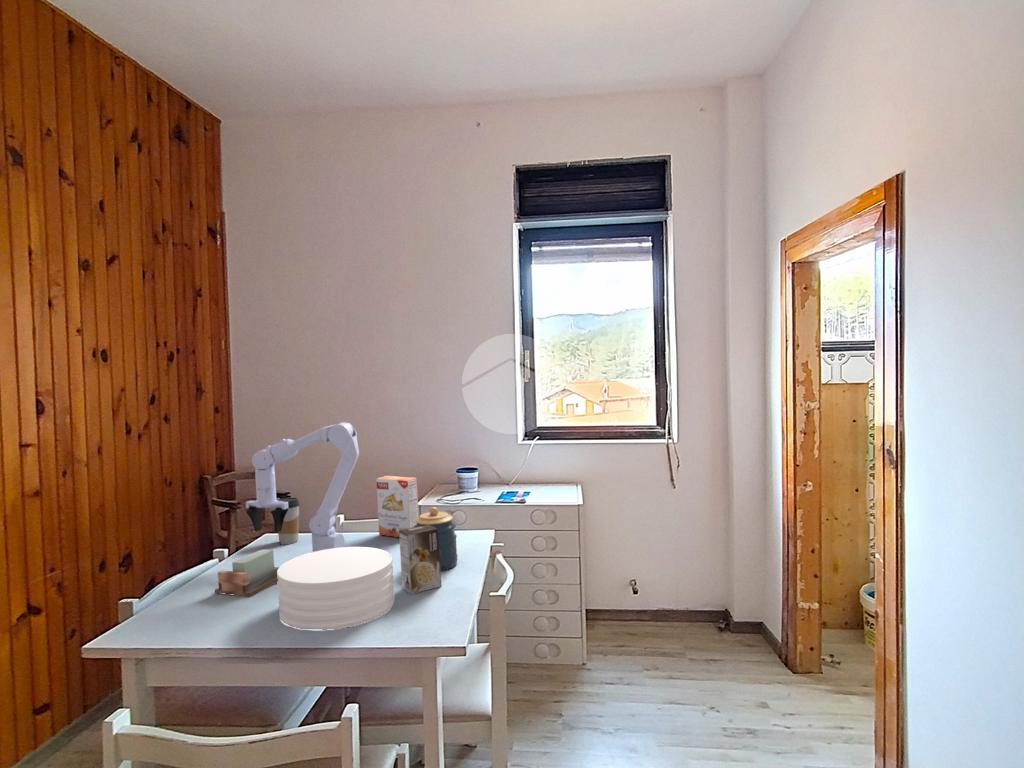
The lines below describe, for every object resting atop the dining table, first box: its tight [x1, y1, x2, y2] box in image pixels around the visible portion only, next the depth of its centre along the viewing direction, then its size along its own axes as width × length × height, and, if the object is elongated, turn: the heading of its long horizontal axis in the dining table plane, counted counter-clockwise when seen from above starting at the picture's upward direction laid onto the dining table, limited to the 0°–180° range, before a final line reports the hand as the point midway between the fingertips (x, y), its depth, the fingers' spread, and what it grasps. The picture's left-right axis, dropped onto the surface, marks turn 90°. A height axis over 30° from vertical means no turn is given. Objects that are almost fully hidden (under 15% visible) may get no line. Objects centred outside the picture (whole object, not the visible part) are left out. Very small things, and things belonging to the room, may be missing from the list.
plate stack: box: [277, 546, 395, 630], centre depth 157 cm, size 28×28×12 cm
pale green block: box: [231, 548, 275, 582], centre depth 177 cm, size 4×12×7 cm, turn 162°
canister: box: [413, 506, 458, 572], centre depth 187 cm, size 13×13×18 cm
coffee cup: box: [274, 497, 300, 545], centre depth 219 cm, size 8×8×15 cm
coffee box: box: [398, 525, 442, 595], centre depth 169 cm, size 9×6×16 cm
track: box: [214, 566, 280, 597], centre depth 178 cm, size 12×20×6 cm, turn 162°
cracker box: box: [376, 475, 420, 538], centre depth 221 cm, size 14×6×21 cm, turn 62°
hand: (268, 530), depth 195 cm, fingers open, 7 cm apart
